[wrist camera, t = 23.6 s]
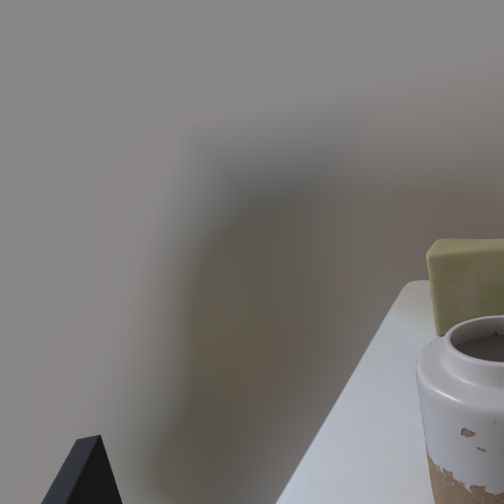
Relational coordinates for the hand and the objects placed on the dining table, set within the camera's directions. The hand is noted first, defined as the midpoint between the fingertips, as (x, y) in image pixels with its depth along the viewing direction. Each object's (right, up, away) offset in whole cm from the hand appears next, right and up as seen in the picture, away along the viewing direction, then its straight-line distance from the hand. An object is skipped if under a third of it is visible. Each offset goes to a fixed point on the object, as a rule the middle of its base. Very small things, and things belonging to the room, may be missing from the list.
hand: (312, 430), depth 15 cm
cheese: (+40, -7, +61) cm, 73 cm away
